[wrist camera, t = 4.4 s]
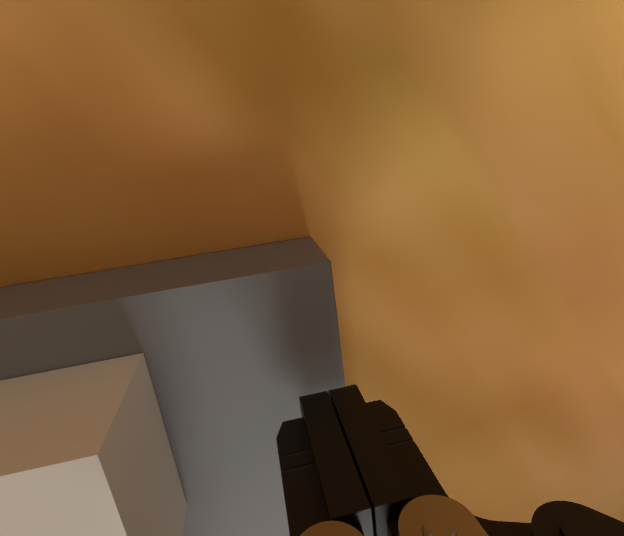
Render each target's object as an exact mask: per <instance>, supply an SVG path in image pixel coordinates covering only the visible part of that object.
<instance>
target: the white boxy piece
mask: <svg viewBox="0 0 624 536" xmlns="http://www.w3.org/2000/svg"><path fill="white" fill-rule="evenodd" d="M186 510H187V503H186V499H185V496H184V492H183V489H182V485H181V482H180V478H179V475H178V471H177V468H176V464H175V461H174V458H173V454H172V451H171V447H170V444H169V440H168V437H167V433H166V430H165V426H164V423H163V419H162V416H161V412H160V409H159V406H158V402H157V399H156V395H155V392H154V388H153V385H152V381H151V378H150V374H149V371H148V367H147V364H146V360H145V357H144V354H143V353H140V354H135V355H130V356H124V357H119V358H114V359H109V360H104V361H99V362H93V363H88V364H83V365H78V366H73V367H67V368H62V369H57V370H52V371H47V372H42V373H36V374H31V375H26V376H21V377H16V378H10V379H5V380H0V536H183V533H184V525H185V518H186Z"/></svg>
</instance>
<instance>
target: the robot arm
mask: <svg viewBox="0 0 624 536" xmlns="http://www.w3.org/2000/svg"><path fill="white" fill-rule="evenodd" d="M299 402H300V409H301V416H302V418H297V419H293V420H288V421H284V422H282V424H281V427H280V430H279V432H278V435H277V437H276V441H277V448H278V455H279V462H280V469H281V476H282V484H283V491H284V498H285V505H286V512H287V519H288V526H289V535H290V536H624V523H623V522H621V521H619V520H616V519H614V518H612V517H610V516H607V515H605V514H603V513H600V512H598V511H596V510H593V509H591V508H589V507H586V506H583V505H581V504H577V503H573V502H568V501H552V502H548V503H545V504H543V505H541V506H540V507H538V508H537V509H536V511H535V512H534V514H533V517H532V522H531V523H519V522H502V521H492V520H486V519H482V518H479V517H477V516H474V515H473V514H472V513H471V512H470V511H469V510H468V509H467V508H466V507H465V506H463V505H462V504H460V503H459V502H457V501H455V500H453V499H451V498H449V497H448V496H447V494H446V493H445V491H444V490H443V488H442V486H441V485H440V483H439V481H438V480H437V478H436V477H435V475H434V473H433V472H432V470H431V468H430V467H429V465H428V463H427V462H426V460H425V458H424V457H423V455H422V453H421V452H420V450H419V449H418V447H417V445H416V444H415V442H413V439H412V437H411V435H410V434H409V432H408V430H407V429H405V425H404V424H403V422H402V420H401V419H400V417H399V416H398V414H397V412H396V411H395V410H394V409H392V408H391V407H390V406H388V405H387V404H385V403H384V402H382V401H381V400H377V401H373V402H368V403H365V401H364V399H363V397H362V395H361V393H360V391H359V389H358V387H357V386H356V385H350V386H346V387H341V388H337V389H332V390H328V393H327V391H323V392H319V393H314V394H309V395H305V396H300V397H299Z"/></svg>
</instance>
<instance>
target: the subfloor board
mask: <svg viewBox="0 0 624 536" xmlns="http://www.w3.org/2000/svg"><path fill="white" fill-rule="evenodd" d="M140 353H143V354H144V357H145V360H146V364H147V367H148V371H149V374H150V378H151V381H152V385H153V388H154V392H155V395H156V399H157V402H158V406H159V409H160V412H161V416H162V419H163V423H164V426H165V430H166V433H167V437H168V440H169V444H170V447H171V451H172V454H173V458H174V461H175V464H176V468H177V471H178V475H179V478H180V482H181V485H182V489H183V492H184V496H185V499H186V503H187V510H186V518H185V525H184V533H183V536H290V535H289V526H288V519H287V512H286V505H285V498H284V491H283V484H282V476H281V469H280V462H279V455H278V448H277V441H276V437H277V435H278V432H279V430H280V427H281V424H282V422H284V421H288V420H293V419H297V418H302V416H301V409H300V402H299V397H300V396H305V395H309V394H314V393H319V392H323V391H327V393H328V390H332V389H337V388H341V387H345V382H344V373H343V364H342V355H341V347H340V338H339V329H338V320H337V312H336V303H335V294H334V285H333V276H332V268H331V261H330V260H329V259H328V258H327V256H326V255H325V254H324V253H323V251H322V250H321V249H320V248H319V247H318V245H317V244H316V243H315V242H314V241H313V239H312V238H311V237H305V238H299V239H293V240H287V241H281V242H275V243H268V244H262V245H256V246H250V247H244V248H238V249H232V250H226V251H220V252H214V253H208V254H201V255H195V256H189V257H183V258H177V259H171V260H165V261H159V262H153V263H147V264H140V265H134V266H128V267H122V268H116V269H110V270H104V271H98V272H92V273H86V274H80V275H73V276H67V277H61V278H55V279H49V280H43V281H37V282H31V283H25V284H19V285H12V286H6V287H0V380H5V379H10V378H16V377H21V376H26V375H31V374H36V373H42V372H47V371H52V370H57V369H62V368H67V367H73V366H78V365H83V364H88V363H93V362H99V361H104V360H109V359H114V358H119V357H124V356H130V355H135V354H140Z"/></svg>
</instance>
